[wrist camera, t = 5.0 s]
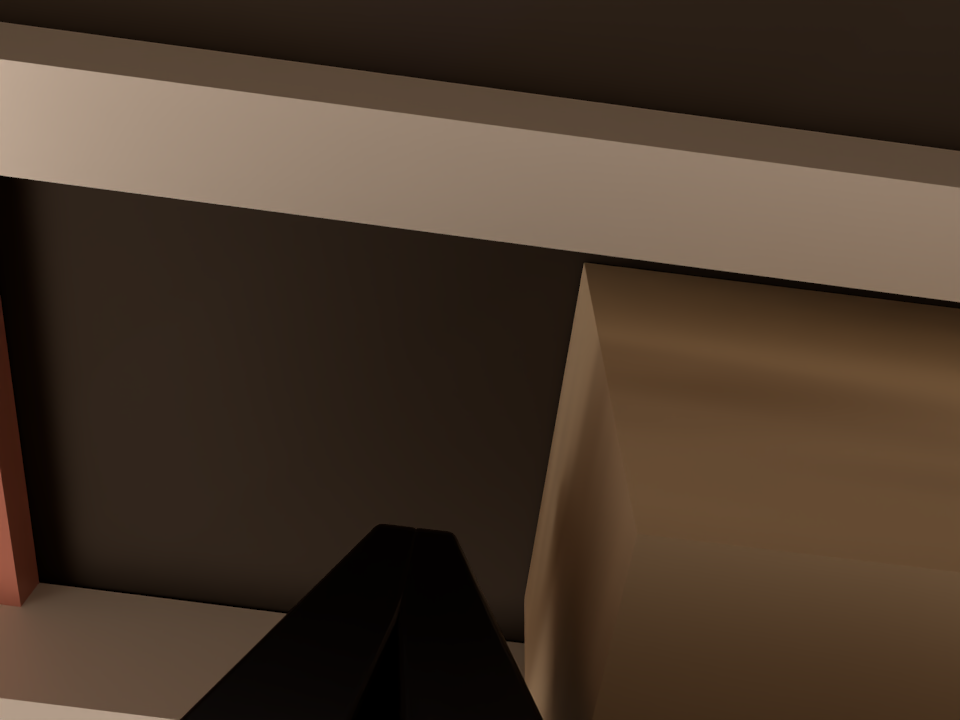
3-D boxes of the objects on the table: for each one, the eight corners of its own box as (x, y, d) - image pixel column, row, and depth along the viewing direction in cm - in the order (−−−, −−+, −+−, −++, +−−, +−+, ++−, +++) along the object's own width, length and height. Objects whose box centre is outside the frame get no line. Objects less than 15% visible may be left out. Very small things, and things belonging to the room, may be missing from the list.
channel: (1104, 767, 13) (1197, 899, 11) (-224, 601, 13) (-348, 710, 11) (1460, 218, 9) (1690, 285, 7) (-425, -36, 9) (-668, -31, 7)
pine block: (876, 640, 12) (1089, 1056, 8) (524, 598, 12) (525, 991, 7) (1014, 315, 10) (1433, 629, 5) (584, 262, 10) (637, 533, 5)
